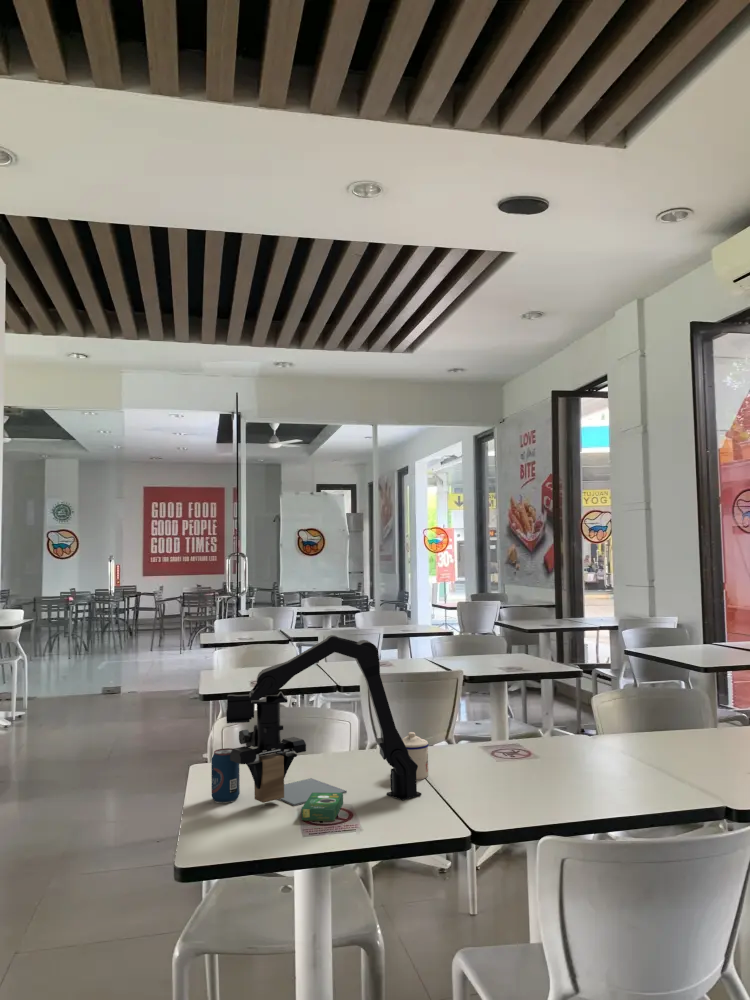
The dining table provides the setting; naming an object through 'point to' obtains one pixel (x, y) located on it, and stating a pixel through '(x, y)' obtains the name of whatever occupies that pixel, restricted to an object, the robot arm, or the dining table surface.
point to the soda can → (224, 777)
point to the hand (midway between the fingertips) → (269, 785)
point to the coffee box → (322, 806)
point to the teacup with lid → (418, 753)
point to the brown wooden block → (271, 778)
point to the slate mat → (306, 790)
